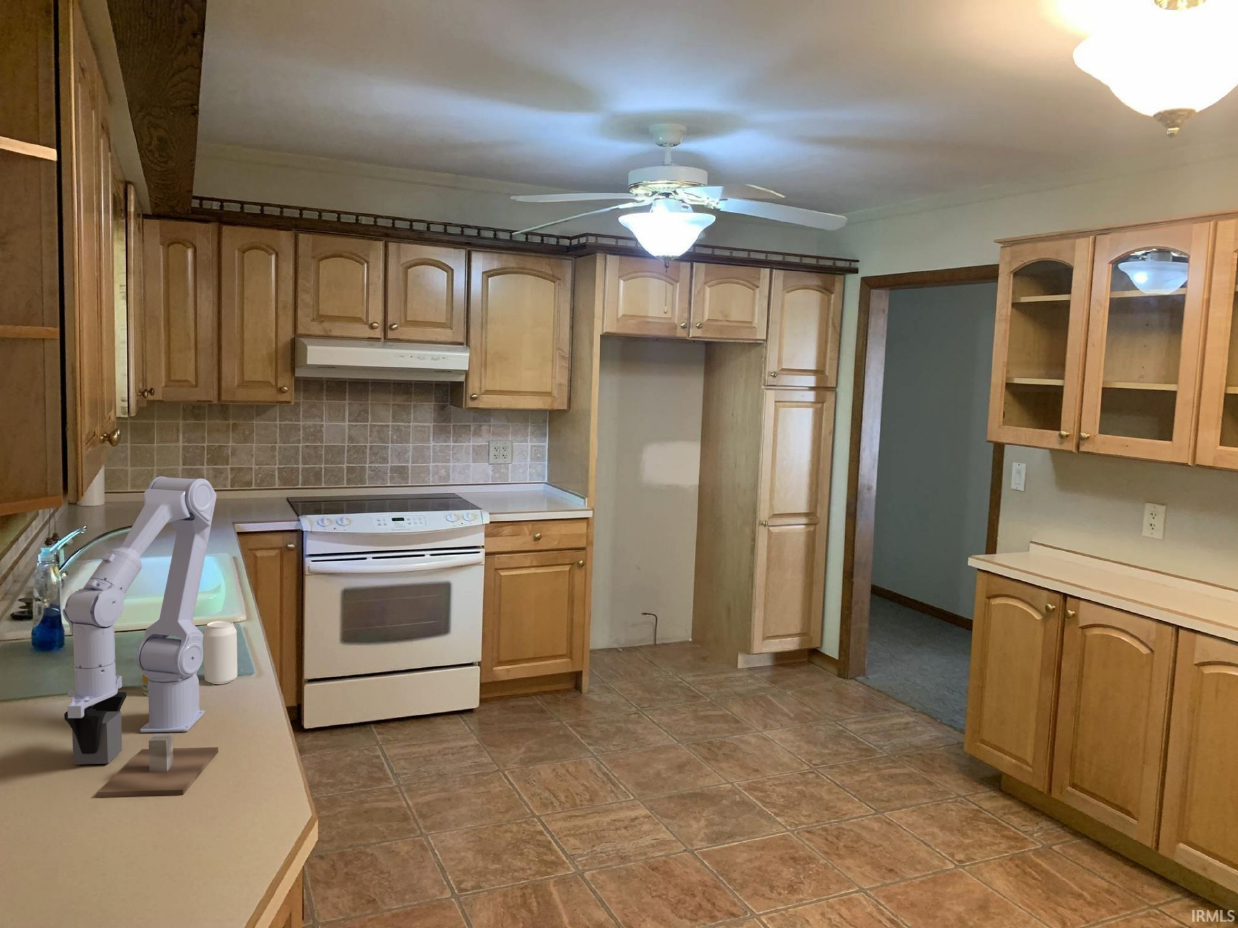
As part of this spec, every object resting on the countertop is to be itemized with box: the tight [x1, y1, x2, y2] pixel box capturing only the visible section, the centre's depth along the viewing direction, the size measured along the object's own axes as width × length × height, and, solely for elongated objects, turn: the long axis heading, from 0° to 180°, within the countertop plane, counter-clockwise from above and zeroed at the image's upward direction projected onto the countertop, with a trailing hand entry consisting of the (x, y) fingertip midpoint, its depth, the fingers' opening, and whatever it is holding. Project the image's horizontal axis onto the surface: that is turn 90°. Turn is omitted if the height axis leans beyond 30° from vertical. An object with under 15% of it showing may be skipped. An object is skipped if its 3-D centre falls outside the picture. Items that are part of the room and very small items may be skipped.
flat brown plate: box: [97, 733, 219, 798], centre depth 143 cm, size 16×12×6 cm
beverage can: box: [203, 620, 238, 683], centre depth 187 cm, size 6×6×12 cm
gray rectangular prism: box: [71, 710, 123, 765], centre depth 148 cm, size 5×5×7 cm
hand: (97, 745), depth 148 cm, fingers closed on gray rectangular prism, 5 cm apart
